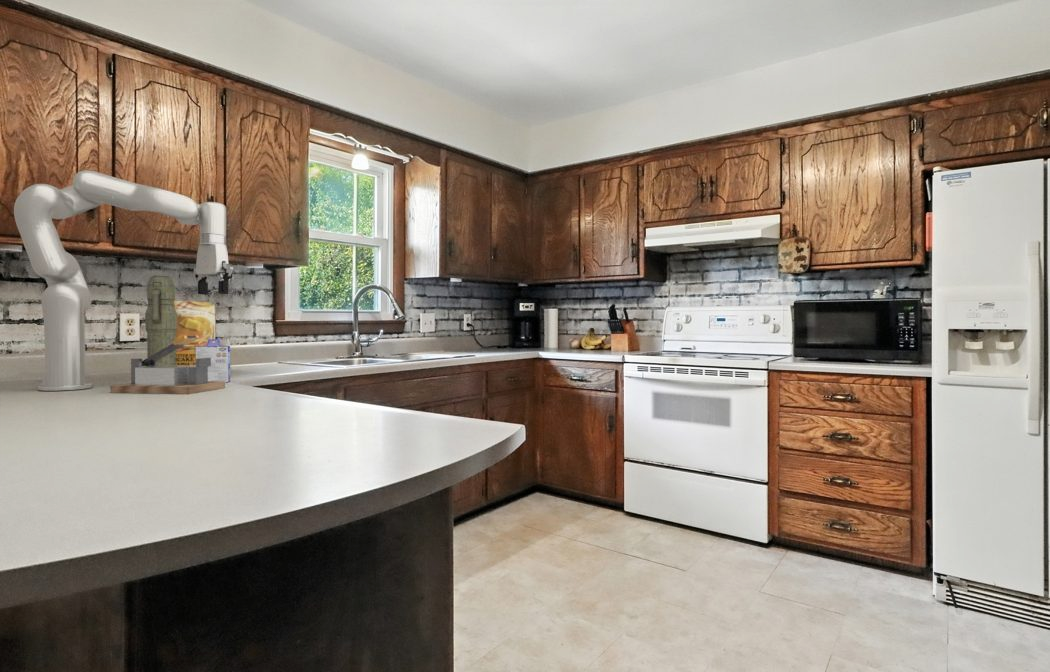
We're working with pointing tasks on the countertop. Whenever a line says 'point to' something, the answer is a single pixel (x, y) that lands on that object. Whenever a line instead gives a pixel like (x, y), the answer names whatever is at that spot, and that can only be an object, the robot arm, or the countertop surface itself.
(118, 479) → the countertop surface
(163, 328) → the green stone totem
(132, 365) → the hinge bracket
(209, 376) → the ink cartridge box
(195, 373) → the lug
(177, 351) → the pancake mix bag
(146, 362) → the retention strap
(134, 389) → the wooden board
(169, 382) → the heat sink
